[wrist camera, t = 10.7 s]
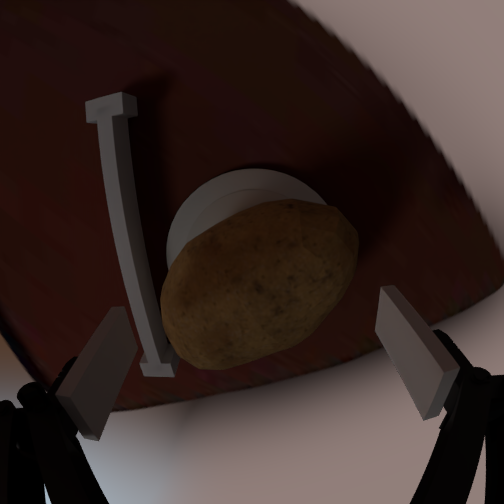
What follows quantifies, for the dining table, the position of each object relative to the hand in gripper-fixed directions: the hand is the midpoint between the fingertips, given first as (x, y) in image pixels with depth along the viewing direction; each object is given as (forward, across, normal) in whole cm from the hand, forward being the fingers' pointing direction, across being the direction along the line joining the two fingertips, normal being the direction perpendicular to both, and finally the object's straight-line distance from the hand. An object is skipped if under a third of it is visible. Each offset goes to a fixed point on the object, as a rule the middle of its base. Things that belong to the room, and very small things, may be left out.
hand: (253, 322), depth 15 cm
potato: (+10, 0, -1) cm, 10 cm away
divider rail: (+10, -9, +1) cm, 14 cm away
